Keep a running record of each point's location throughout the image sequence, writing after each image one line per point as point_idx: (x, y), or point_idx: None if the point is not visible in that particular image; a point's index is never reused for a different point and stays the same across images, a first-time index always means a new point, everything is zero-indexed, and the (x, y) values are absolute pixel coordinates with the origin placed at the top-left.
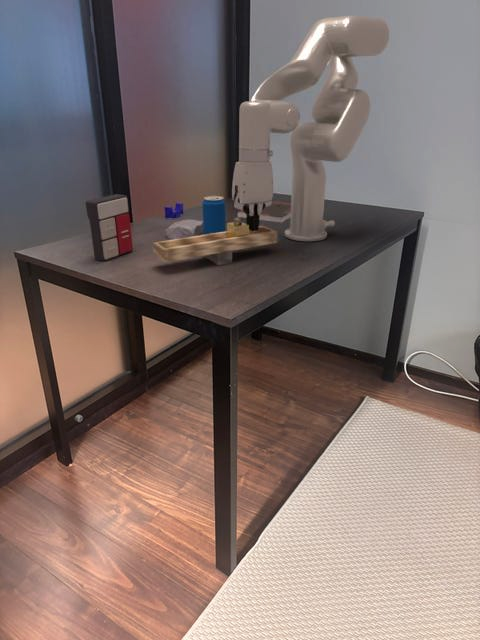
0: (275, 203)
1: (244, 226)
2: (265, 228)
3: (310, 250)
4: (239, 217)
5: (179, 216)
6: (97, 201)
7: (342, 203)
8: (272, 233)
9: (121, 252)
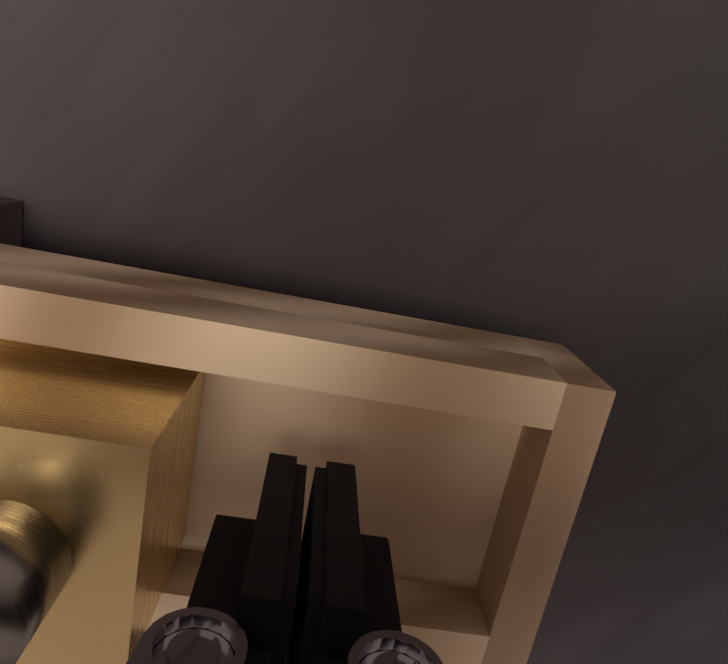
0: None
1: (51, 661)
2: (528, 511)
3: (722, 621)
4: (6, 608)
5: None
6: None
7: None
8: (451, 661)
9: None
